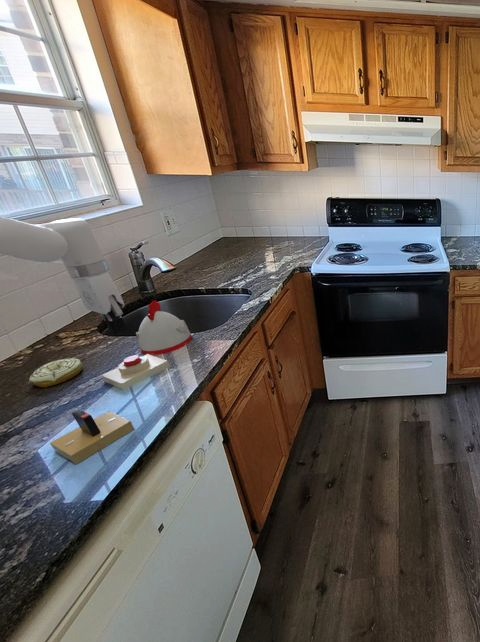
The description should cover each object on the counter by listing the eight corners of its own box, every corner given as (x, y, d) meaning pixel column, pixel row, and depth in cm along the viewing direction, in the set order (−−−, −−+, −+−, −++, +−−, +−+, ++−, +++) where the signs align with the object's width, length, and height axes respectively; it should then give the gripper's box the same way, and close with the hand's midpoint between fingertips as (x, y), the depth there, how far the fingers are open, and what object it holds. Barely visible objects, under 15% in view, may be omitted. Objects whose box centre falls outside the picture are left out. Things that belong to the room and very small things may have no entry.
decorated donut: (22, 389, 101) (15, 378, 99) (59, 367, 110) (53, 356, 109) (60, 388, 101) (53, 377, 99) (93, 366, 110) (88, 355, 109)
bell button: (129, 368, 102) (127, 363, 102) (122, 365, 104) (120, 360, 103) (143, 361, 105) (141, 356, 105) (136, 359, 107) (134, 354, 106)
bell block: (124, 390, 99) (118, 378, 98) (104, 381, 103) (98, 370, 101) (170, 366, 109) (165, 355, 107) (150, 359, 113) (145, 348, 111)
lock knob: (81, 430, 82) (70, 412, 80) (89, 426, 83) (78, 408, 81) (93, 436, 80) (82, 418, 78) (101, 432, 81) (90, 414, 79)
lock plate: (76, 464, 77) (70, 455, 75) (54, 451, 80) (48, 442, 79) (135, 429, 86) (130, 420, 84) (113, 418, 89) (108, 410, 88)
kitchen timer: (197, 331, 129) (183, 292, 123) (184, 350, 117) (168, 308, 111) (151, 337, 125) (134, 298, 119) (133, 358, 114) (113, 316, 107)
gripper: (55, 270, 92) (88, 332, 100) (86, 277, 86) (118, 343, 94) (91, 261, 98) (119, 320, 106) (122, 267, 93) (150, 330, 101)
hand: (119, 331), depth 100 cm, fingers closed
